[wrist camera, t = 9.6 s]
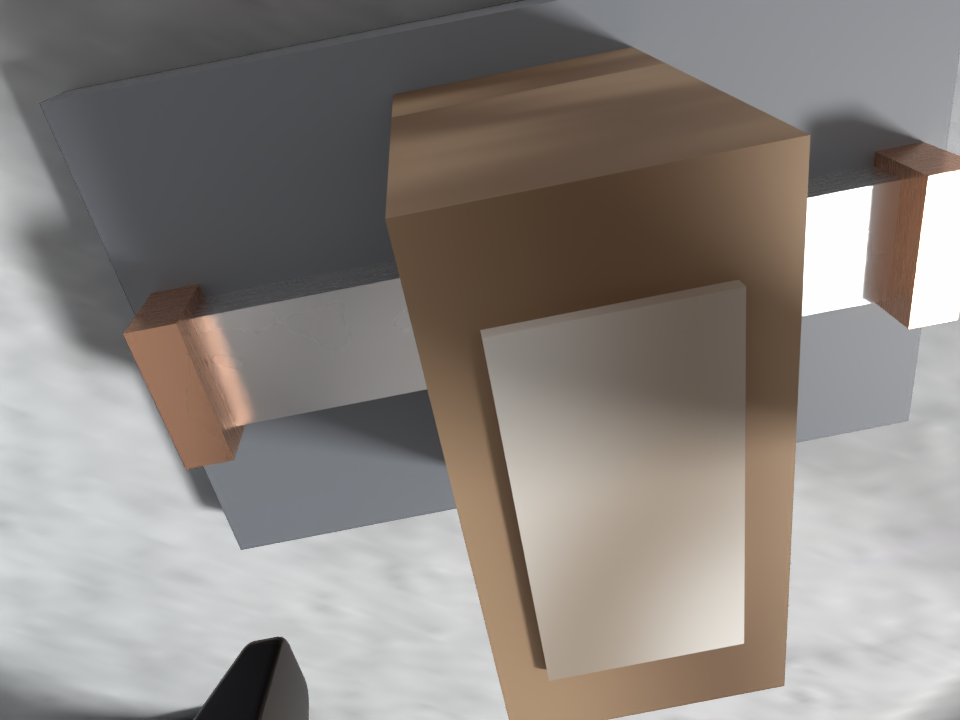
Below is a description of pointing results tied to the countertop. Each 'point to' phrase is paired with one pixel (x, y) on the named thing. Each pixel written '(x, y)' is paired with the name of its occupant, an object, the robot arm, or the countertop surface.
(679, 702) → the rail module
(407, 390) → the copper ended bar
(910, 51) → the mounting plate
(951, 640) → the countertop surface
